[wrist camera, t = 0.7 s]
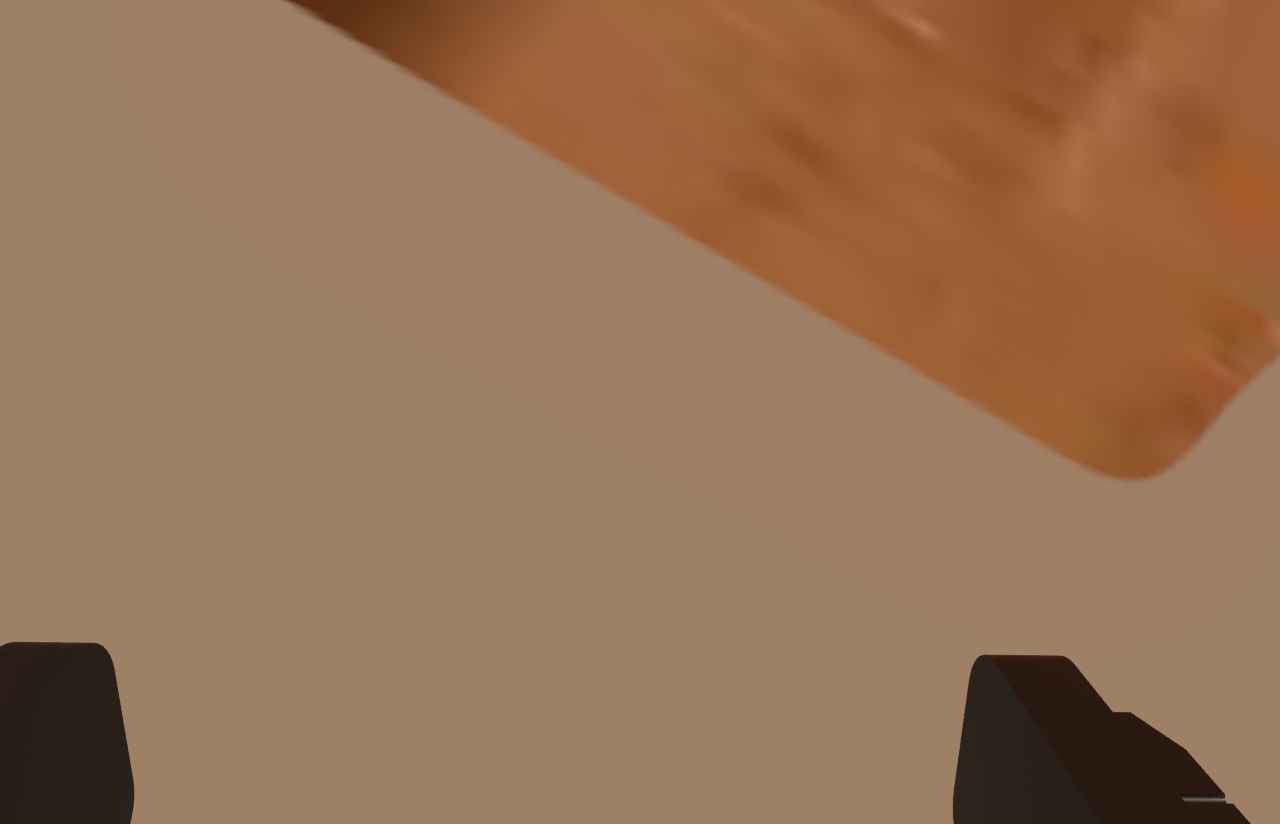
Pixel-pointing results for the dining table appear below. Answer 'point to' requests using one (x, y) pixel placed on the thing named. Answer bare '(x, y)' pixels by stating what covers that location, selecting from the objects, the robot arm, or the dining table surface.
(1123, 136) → the dining table surface
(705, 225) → the dining table surface
